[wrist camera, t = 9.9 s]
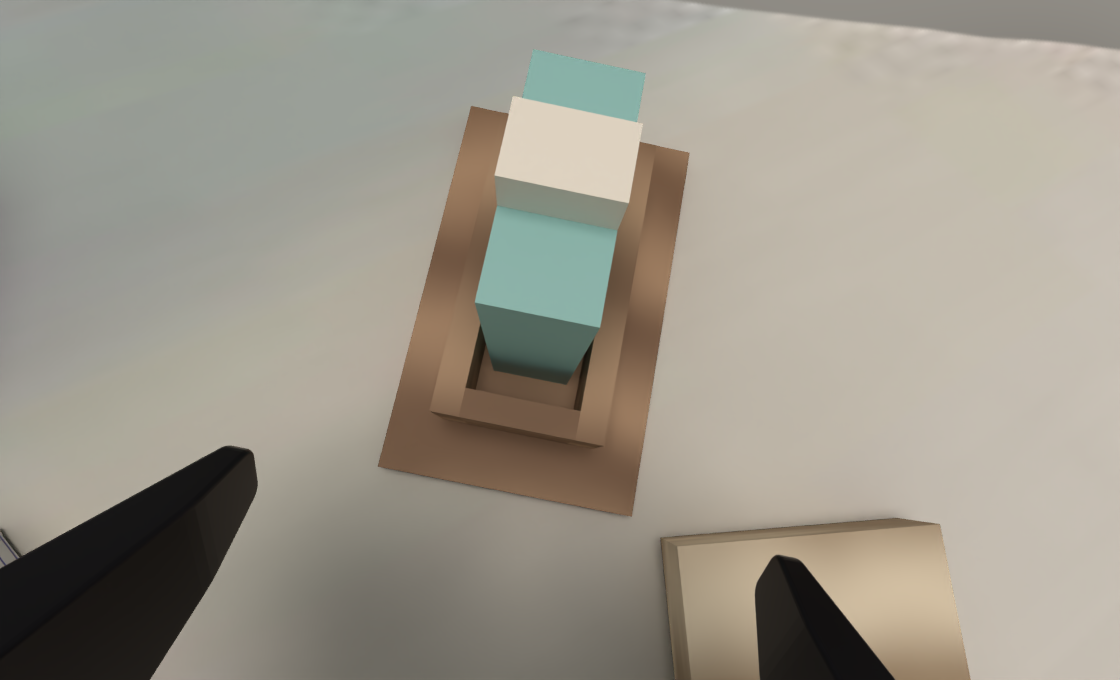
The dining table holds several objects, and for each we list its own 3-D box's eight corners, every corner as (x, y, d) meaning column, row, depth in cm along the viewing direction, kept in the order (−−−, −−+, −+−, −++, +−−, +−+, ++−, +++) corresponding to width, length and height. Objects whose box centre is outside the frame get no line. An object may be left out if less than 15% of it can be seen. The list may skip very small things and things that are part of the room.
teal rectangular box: (566, 384, 23) (609, 310, 12) (493, 370, 23) (469, 282, 12) (596, 227, 25) (659, 31, 14) (527, 212, 25) (534, 4, 14)
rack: (627, 514, 23) (651, 526, 19) (382, 466, 23) (351, 466, 19) (684, 162, 27) (715, 105, 22) (472, 116, 26) (463, 50, 22)
